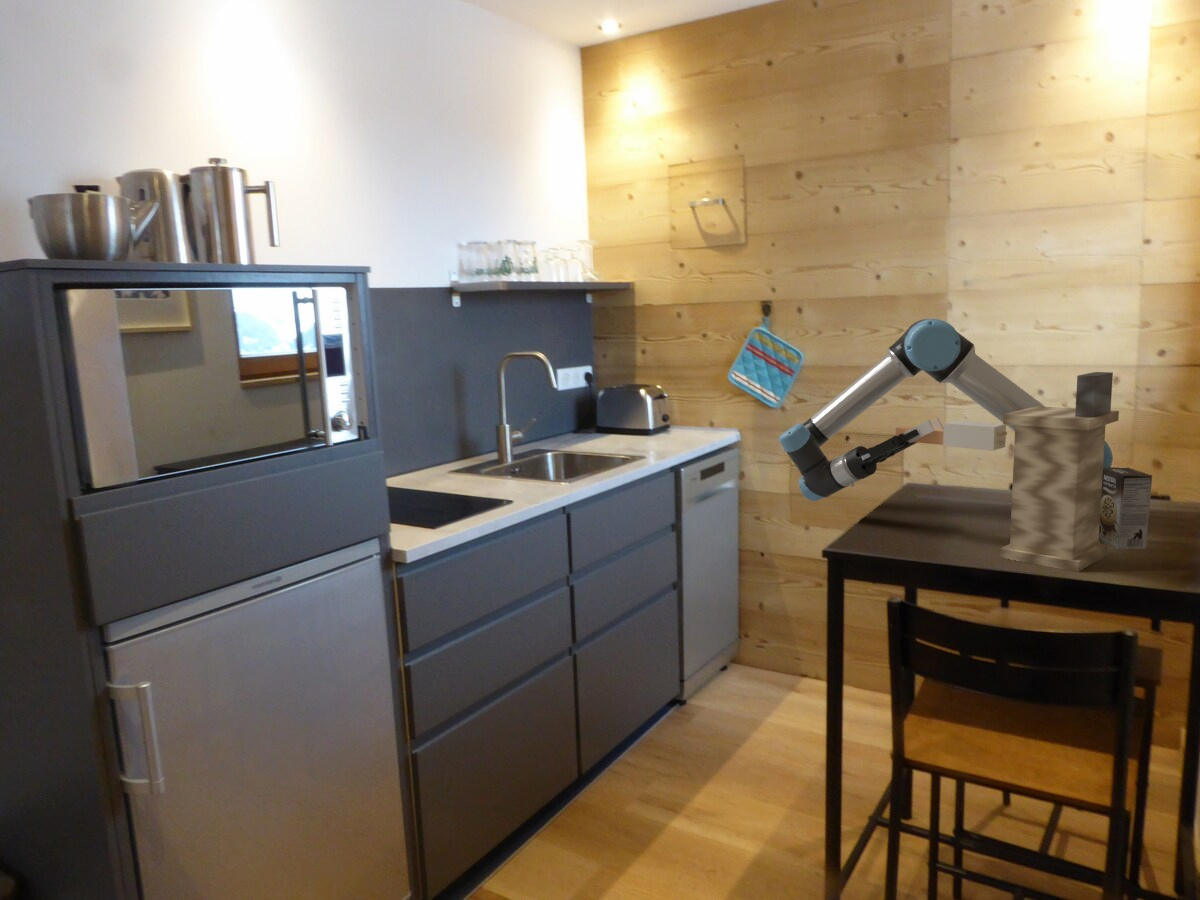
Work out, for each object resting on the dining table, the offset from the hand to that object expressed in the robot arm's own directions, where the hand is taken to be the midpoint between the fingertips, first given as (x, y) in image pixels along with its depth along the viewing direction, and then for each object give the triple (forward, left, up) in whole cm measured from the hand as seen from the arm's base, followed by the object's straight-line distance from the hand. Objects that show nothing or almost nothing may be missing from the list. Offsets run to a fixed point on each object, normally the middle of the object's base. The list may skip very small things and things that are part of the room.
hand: (935, 424), depth 196 cm
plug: (-2, +2, -4) cm, 5 cm away
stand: (-19, +19, -26) cm, 37 cm away
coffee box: (-37, +11, -26) cm, 46 cm away
